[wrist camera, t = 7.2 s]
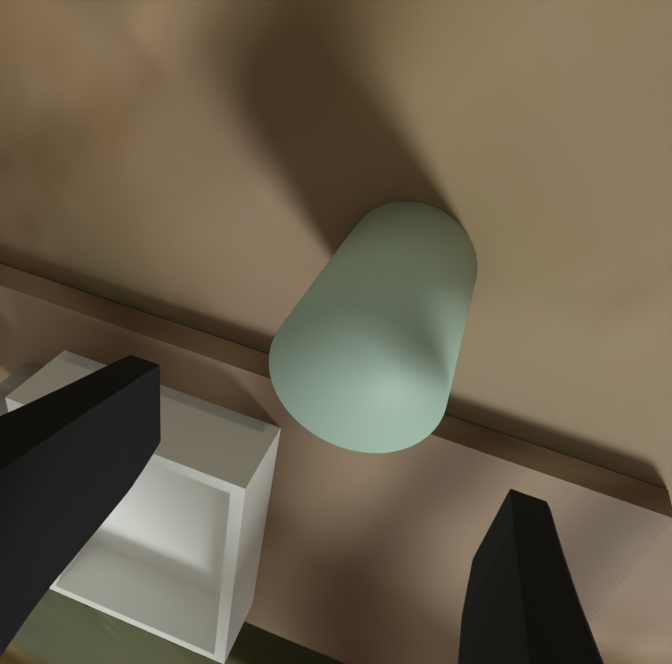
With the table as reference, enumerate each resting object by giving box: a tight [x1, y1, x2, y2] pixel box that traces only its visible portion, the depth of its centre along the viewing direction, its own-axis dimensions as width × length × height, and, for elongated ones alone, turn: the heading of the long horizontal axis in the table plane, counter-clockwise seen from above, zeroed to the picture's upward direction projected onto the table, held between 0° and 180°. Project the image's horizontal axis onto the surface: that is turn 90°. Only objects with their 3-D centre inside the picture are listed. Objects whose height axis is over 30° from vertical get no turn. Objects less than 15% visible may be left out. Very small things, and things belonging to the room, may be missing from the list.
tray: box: [5, 350, 281, 664], centre depth 24 cm, size 9×12×3 cm
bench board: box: [0, 264, 672, 664], centre depth 23 cm, size 28×16×5 cm, turn 80°
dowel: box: [269, 201, 477, 453], centre depth 15 cm, size 4×4×6 cm
